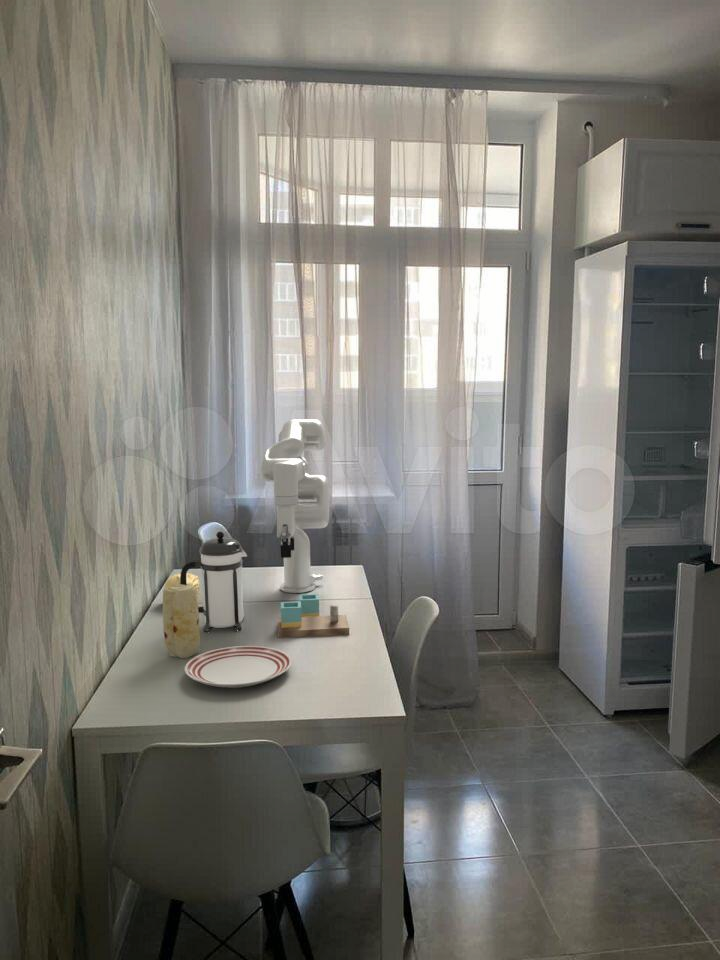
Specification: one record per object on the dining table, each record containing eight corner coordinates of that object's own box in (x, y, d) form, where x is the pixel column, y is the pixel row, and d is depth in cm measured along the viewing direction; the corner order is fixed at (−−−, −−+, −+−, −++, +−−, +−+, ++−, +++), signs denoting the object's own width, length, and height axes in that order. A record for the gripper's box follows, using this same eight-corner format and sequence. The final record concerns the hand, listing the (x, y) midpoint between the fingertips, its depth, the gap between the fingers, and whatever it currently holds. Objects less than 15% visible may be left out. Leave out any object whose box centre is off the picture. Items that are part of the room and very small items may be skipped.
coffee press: (228, 614, 242) (224, 524, 237) (258, 626, 230) (254, 531, 226) (181, 628, 230) (176, 532, 225) (210, 641, 218) (205, 540, 214)
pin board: (345, 620, 234) (345, 599, 233) (349, 634, 222) (348, 611, 221) (278, 624, 232) (277, 602, 231) (278, 637, 220) (277, 614, 219)
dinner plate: (199, 654, 209) (199, 643, 208) (297, 654, 208) (297, 642, 207) (172, 697, 182) (171, 684, 181) (284, 697, 181) (284, 684, 180)
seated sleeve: (301, 620, 229) (300, 601, 228) (301, 626, 223) (301, 607, 223) (281, 621, 229) (280, 602, 228) (281, 627, 223) (280, 608, 222)
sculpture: (196, 608, 249) (194, 577, 247) (160, 609, 249) (158, 577, 247) (204, 598, 260) (202, 568, 258) (169, 598, 260) (168, 568, 259)
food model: (201, 649, 212) (197, 581, 209) (200, 658, 205) (197, 587, 202) (165, 652, 210) (161, 583, 207) (163, 661, 204) (159, 590, 201)
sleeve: (318, 611, 243) (318, 593, 243) (319, 617, 238) (318, 599, 237) (299, 612, 243) (299, 594, 242) (300, 618, 237) (299, 600, 236)
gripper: (277, 496, 244) (279, 547, 246) (270, 505, 227) (272, 560, 229) (300, 496, 244) (302, 547, 246) (295, 505, 227) (296, 560, 229)
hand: (287, 553), depth 238 cm, fingers open, 9 cm apart
